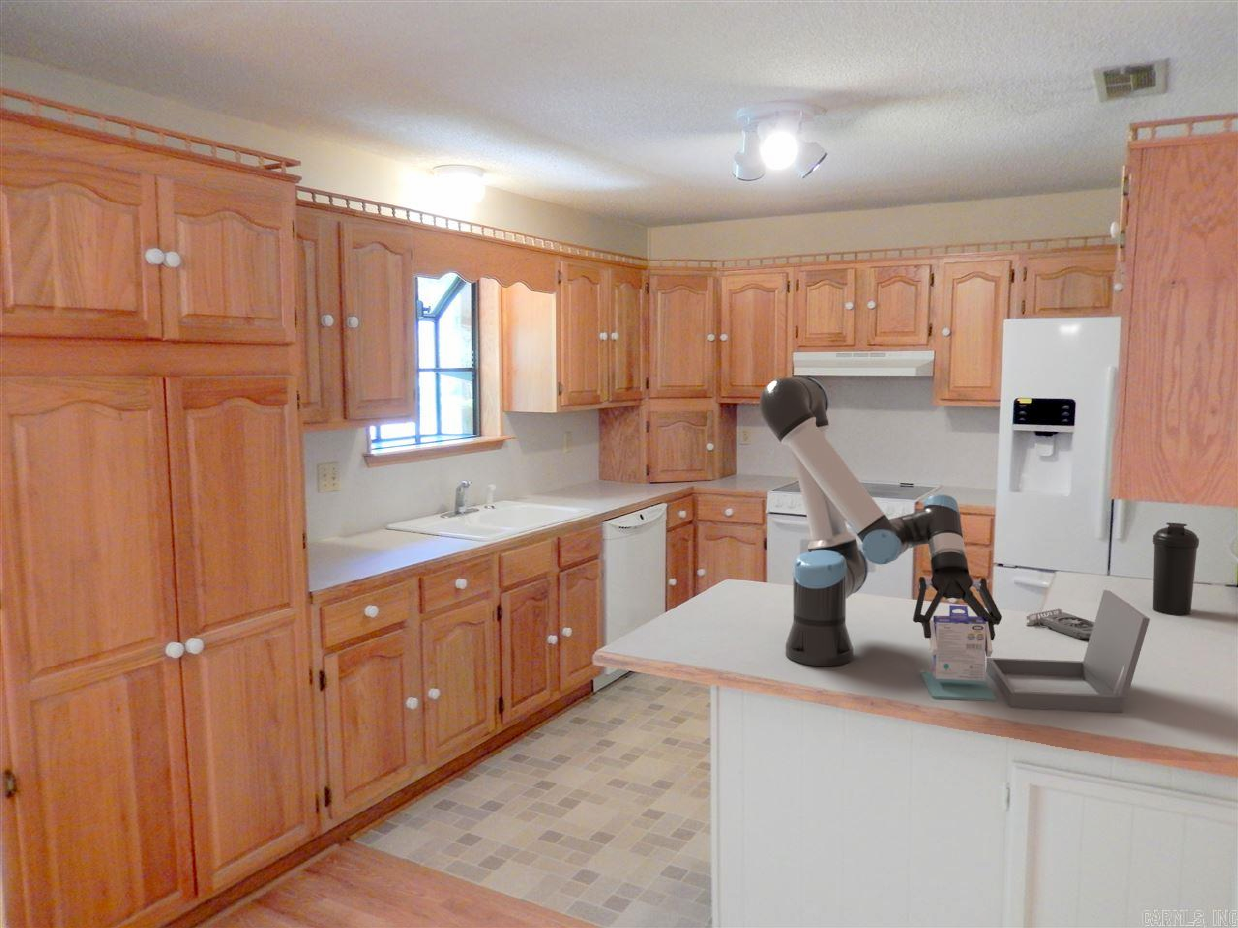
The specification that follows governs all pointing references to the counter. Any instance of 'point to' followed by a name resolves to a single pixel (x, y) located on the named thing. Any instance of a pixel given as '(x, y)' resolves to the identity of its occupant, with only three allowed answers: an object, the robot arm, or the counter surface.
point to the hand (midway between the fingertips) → (961, 652)
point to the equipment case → (1085, 664)
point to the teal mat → (957, 688)
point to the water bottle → (1174, 569)
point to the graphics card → (1063, 623)
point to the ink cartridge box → (959, 646)
